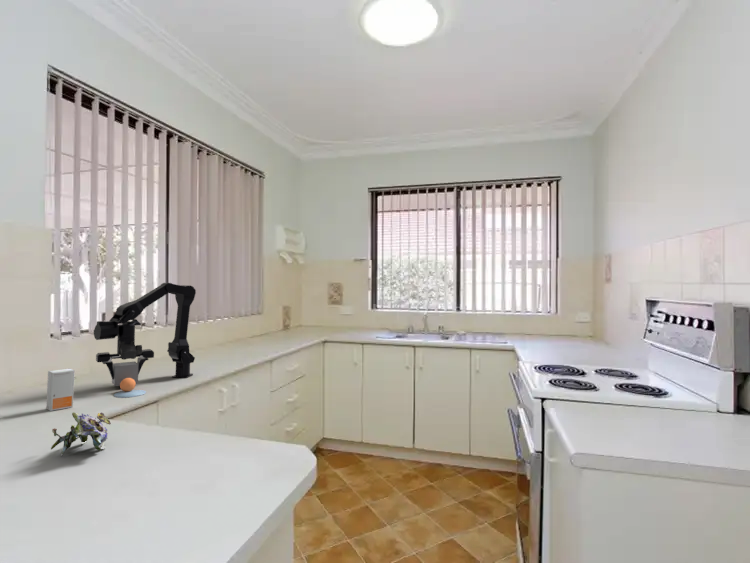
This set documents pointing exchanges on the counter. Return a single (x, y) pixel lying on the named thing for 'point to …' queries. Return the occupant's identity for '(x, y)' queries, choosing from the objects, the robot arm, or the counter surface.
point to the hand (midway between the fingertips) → (125, 377)
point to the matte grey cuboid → (125, 372)
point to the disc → (129, 393)
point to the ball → (127, 384)
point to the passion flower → (85, 431)
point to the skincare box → (60, 389)
